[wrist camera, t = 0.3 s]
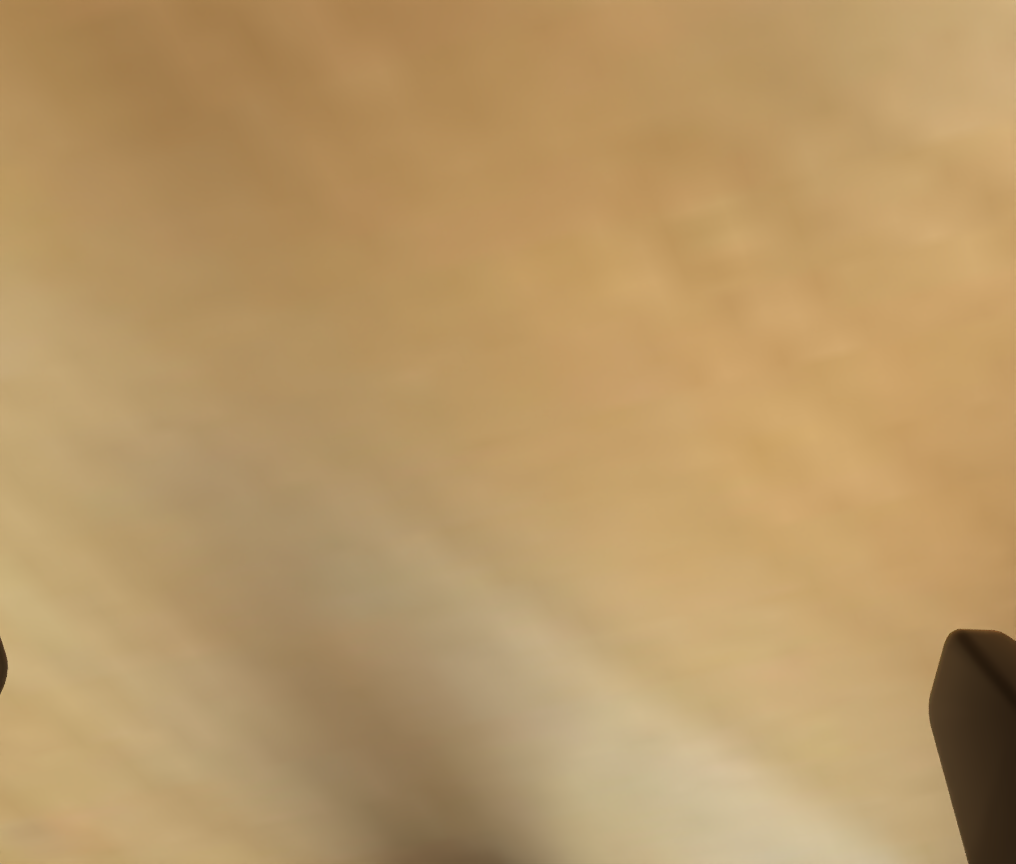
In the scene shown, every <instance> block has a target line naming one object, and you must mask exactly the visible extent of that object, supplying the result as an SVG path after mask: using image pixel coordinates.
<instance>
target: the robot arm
mask: <svg viewBox="0 0 1016 864" xmlns="http://www.w3.org/2000/svg"><path fill="white" fill-rule="evenodd" d="M7 670H8V664H7V657H6V653H5V650H4V647H3V644H2V641H1V638H0V694H1V691H2V689H3V687H4V684H5V681H6V677H7ZM929 718H930V724H931V728H932V732H933V736H934V739H935V743H936V747H937V750H938V754H939V758H940V761H941V765H942V769H943V772H944V776H945V780H946V783H947V787H948V791H949V794H950V798H951V802H952V805H953V809H954V813H955V816H956V820H957V824H958V827H959V831H960V835H961V838H962V842H963V846H964V849H965V853H966V857H967V860H968V863H969V864H1016V641H1015V640H1013V639H1012V638H1010V637H1009V636H1007V635H1006V634H1004V633H1002V632H999V631H995V630H972V629H957V630H955V631H953V632H951V633H950V634H949V636H948V637H947V639H946V641H945V644H944V647H943V651H942V654H941V658H940V661H939V665H938V669H937V672H936V676H935V679H934V683H933V687H932V690H931V694H930V699H929Z"/></svg>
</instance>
